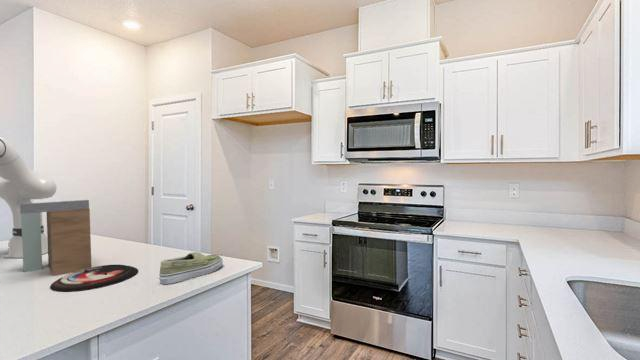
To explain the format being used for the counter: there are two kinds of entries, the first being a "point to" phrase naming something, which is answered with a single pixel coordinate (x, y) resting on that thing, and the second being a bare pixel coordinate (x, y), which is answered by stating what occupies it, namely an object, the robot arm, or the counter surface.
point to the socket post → (31, 241)
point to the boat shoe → (188, 267)
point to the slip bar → (53, 206)
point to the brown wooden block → (68, 241)
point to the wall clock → (94, 278)
